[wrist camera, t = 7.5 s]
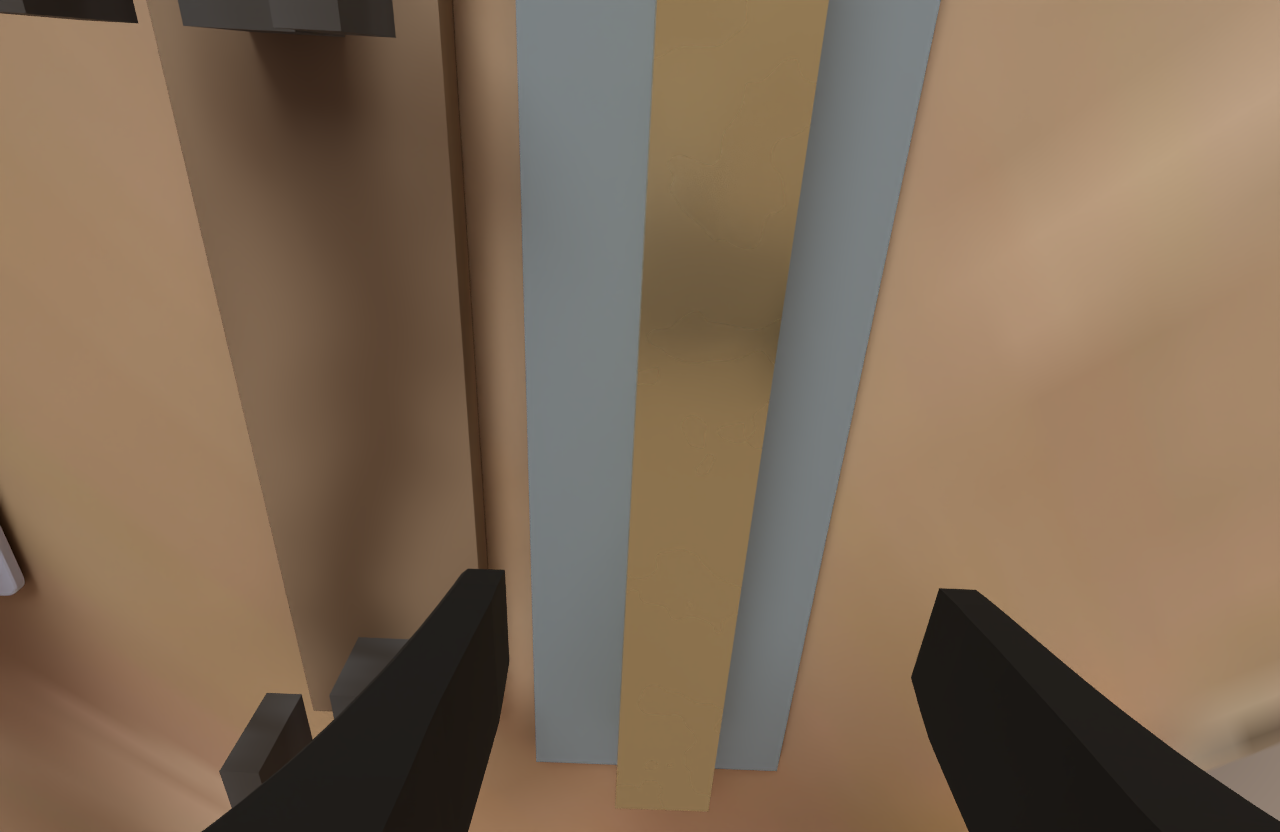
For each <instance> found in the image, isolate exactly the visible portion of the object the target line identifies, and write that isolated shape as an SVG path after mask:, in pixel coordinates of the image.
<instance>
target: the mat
mask: <svg viewBox="0 0 1280 832" xmlns="http://www.w3.org/2000/svg"><path fill="white" fill-rule="evenodd" d="M940 1H941V0H829V3H828V10H827V17H826V24H825V30H824V37H823V44H822V50H821V57H820V64H819V71H818V77H817V84H816V91H815V98H814V104H813V111H812V118H811V124H810V131H809V138H808V145H807V151H806V158H805V165H804V171H803V178H802V185H801V192H800V198H799V205H798V212H797V218H796V225H795V232H794V239H793V245H792V252H791V259H790V265H789V272H788V279H787V286H786V292H785V299H784V306H783V312H782V319H781V326H780V333H779V339H778V346H777V353H776V360H775V366H774V373H773V380H772V386H771V393H770V400H769V407H768V413H767V420H766V427H765V433H764V440H763V447H762V454H761V460H760V467H759V474H758V480H757V487H756V494H755V501H754V507H753V514H752V521H751V527H750V534H749V541H748V548H747V554H746V561H745V568H744V574H743V581H742V588H741V595H740V601H739V608H738V615H737V622H736V628H735V635H734V642H733V648H732V655H731V662H730V669H729V675H728V682H727V689H726V695H725V702H724V709H723V716H722V722H721V729H720V736H719V742H718V749H717V756H716V763H715V769H739V770H764V771H777V767H778V762H779V758H780V753H781V748H782V744H783V739H784V734H785V729H786V725H787V720H788V715H789V711H790V706H791V701H792V697H793V692H794V687H795V682H796V678H797V673H798V668H799V664H800V659H801V654H802V650H803V645H804V640H805V635H806V631H807V626H808V621H809V617H810V612H811V607H812V603H813V598H814V593H815V588H816V584H817V579H818V574H819V570H820V565H821V560H822V556H823V551H824V546H825V541H826V537H827V532H828V527H829V523H830V518H831V513H832V509H833V504H834V499H835V494H836V490H837V485H838V480H839V476H840V471H841V466H842V462H843V457H844V452H845V447H846V443H847V438H848V433H849V429H850V424H851V419H852V415H853V410H854V405H855V400H856V396H857V391H858V386H859V382H860V377H861V372H862V367H863V363H864V358H865V353H866V349H867V344H868V339H869V335H870V330H871V325H872V320H873V316H874V311H875V306H876V302H877V297H878V292H879V288H880V283H881V278H882V273H883V269H884V264H885V259H886V255H887V250H888V245H889V241H890V236H891V231H892V226H893V222H894V217H895V212H896V208H897V203H898V198H899V194H900V189H901V184H902V179H903V175H904V170H905V165H906V161H907V156H908V151H909V147H910V142H911V137H912V132H913V128H914V123H915V118H916V114H917V109H918V104H919V100H920V95H921V90H922V85H923V81H924V76H925V71H926V67H927V62H928V57H929V53H930V48H931V43H932V38H933V34H934V29H935V24H936V20H937V15H938V10H939V5H940ZM654 20H655V0H516V27H517V64H518V101H519V138H520V175H521V212H522V249H523V286H524V323H525V360H526V397H527V434H528V471H529V508H530V545H531V582H532V619H533V656H534V693H535V730H536V762H561V763H587V764H612V765H617V751H618V726H619V707H620V687H621V668H622V648H623V628H624V609H625V589H626V569H627V550H628V530H629V511H630V491H631V471H632V452H633V432H634V413H635V393H636V373H637V354H638V334H639V314H640V295H641V275H642V256H643V236H644V216H645V197H646V177H647V157H648V138H649V118H650V99H651V79H652V59H653V40H654Z"/></svg>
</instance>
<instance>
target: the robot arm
mask: <svg viewBox="0 0 1280 832" xmlns="http://www.w3.org/2000/svg"><path fill="white" fill-rule="evenodd" d="M24 584H25V581H24V577H23V574H22V572H21V570H20V568H19V566H18V563H17V561H16V559H15V557H14V555H13V552H12V550H11V548H10V546H9V543H8V541H7V539H6V537H5V535H4V532H3V530H2V528H1V526H0V595H2V596H8V595H13V594H14V593H16V592H17V591H18V590H20V589H21V588H22V587H23V586H24ZM508 666H509V646H508V626H507V605H506V585H505V570H490V569H467V570H465V571H464V572H463V573H462V574H461V575H460V576H459V578H458V579H457V580H456V582H455V583H454V584H453V586H452V587H451V588H450V590H449V591H448V592H447V593H446V595H445V596H444V597H443V599H442V600H441V601H440V603H439V604H438V605H437V606H436V608H435V609H434V610H433V611H432V613H431V614H430V615H429V616H428V618H427V619H426V620H425V621H424V622H423V624H422V625H421V626H420V627H419V629H418V630H417V631H416V632H415V633H414V634H413V636H412V637H411V638H410V639H409V640H408V641H407V642H406V644H405V645H404V646H403V647H402V648H401V649H400V651H399V652H398V653H397V654H396V655H395V656H394V657H393V659H392V660H391V661H390V662H389V663H388V664H387V665H386V666H385V668H384V669H383V670H382V671H381V672H380V673H379V674H378V675H377V676H376V677H375V678H374V679H373V680H372V681H371V682H370V683H369V684H368V685H367V687H366V688H365V689H364V690H363V691H362V692H361V693H360V694H359V695H358V696H357V697H356V698H355V699H354V700H353V701H352V702H351V703H350V704H349V705H348V706H347V707H346V708H345V709H344V710H343V711H342V712H341V713H340V714H339V715H338V716H337V717H336V718H335V719H334V720H333V721H332V722H331V723H330V724H329V725H328V726H327V727H326V728H325V729H324V730H323V731H322V732H320V733H319V734H318V735H317V736H316V737H315V738H314V739H313V740H312V741H311V742H310V743H309V744H307V745H306V746H305V747H304V748H303V749H302V750H301V751H300V752H299V753H297V754H296V755H295V756H294V757H293V758H292V759H291V760H290V761H288V762H287V763H286V764H285V765H284V766H283V767H282V768H280V769H279V770H278V771H277V772H276V773H274V774H273V775H272V776H271V777H270V778H268V779H267V780H266V781H265V782H264V783H262V784H261V785H260V786H259V787H258V788H256V789H255V790H254V791H253V792H251V793H250V794H249V795H248V796H247V797H245V798H244V799H243V800H242V801H241V802H239V803H238V804H237V805H236V806H234V807H233V808H232V809H231V810H229V811H228V812H227V813H225V814H224V815H223V816H222V817H220V818H219V819H218V820H216V821H215V822H214V823H213V824H211V825H210V826H209V827H207V828H206V829H205V830H203V831H202V832H468V830H469V826H470V823H471V819H472V816H473V812H474V809H475V805H476V802H477V798H478V795H479V791H480V788H481V784H482V781H483V777H484V774H485V770H486V767H487V763H488V760H489V756H490V753H491V749H492V745H493V742H494V738H495V735H496V731H497V727H498V724H499V719H500V714H501V708H502V702H503V697H504V691H505V685H506V678H507V672H508ZM911 679H912V683H913V686H914V690H915V693H916V697H917V701H918V704H919V708H920V712H921V715H922V718H923V721H924V724H925V728H926V731H927V734H928V737H929V740H930V742H931V745H932V747H933V750H934V752H935V755H936V757H937V759H938V762H939V764H940V766H941V769H942V771H943V773H944V776H945V778H946V780H947V783H948V785H949V787H950V790H951V792H952V794H953V796H954V799H955V801H956V803H957V806H958V808H959V810H960V812H961V815H962V817H963V819H964V822H965V824H966V826H967V828H968V831H969V832H1280V821H1278V820H1277V819H1275V818H1274V817H1272V816H1270V815H1269V814H1267V813H1266V812H1264V811H1263V810H1261V809H1260V808H1258V807H1256V806H1255V805H1253V804H1252V803H1250V802H1249V801H1247V800H1246V799H1244V798H1243V797H1242V796H1240V795H1239V794H1237V793H1236V792H1234V791H1233V790H1231V789H1229V788H1228V787H1227V786H1225V785H1224V784H1222V783H1221V782H1219V781H1218V780H1216V779H1215V778H1214V777H1212V776H1211V775H1209V774H1208V773H1206V772H1205V771H1203V770H1202V769H1200V768H1199V767H1197V766H1196V765H1195V764H1193V763H1192V762H1190V761H1189V760H1188V759H1186V758H1185V757H1183V756H1182V755H1181V754H1179V753H1178V752H1176V751H1175V750H1174V749H1172V748H1171V747H1170V746H1168V745H1167V744H1166V743H1164V742H1163V741H1162V740H1160V739H1159V738H1158V737H1156V736H1155V735H1154V734H1152V733H1151V732H1150V731H1148V730H1147V729H1146V728H1144V727H1143V726H1142V725H1141V724H1139V723H1138V722H1137V721H1135V720H1134V719H1133V718H1131V717H1130V716H1129V715H1127V714H1126V713H1125V712H1124V711H1122V710H1121V709H1120V708H1118V707H1117V706H1116V705H1115V704H1113V703H1112V702H1111V701H1110V700H1108V699H1107V698H1106V697H1105V696H1103V695H1102V694H1101V693H1100V692H1098V691H1097V690H1096V689H1095V688H1093V687H1092V686H1091V685H1090V684H1089V683H1087V682H1086V681H1085V680H1084V679H1082V678H1081V677H1080V676H1079V675H1078V674H1076V673H1075V672H1074V671H1073V670H1072V669H1070V668H1069V667H1068V666H1067V665H1066V664H1064V663H1063V662H1062V661H1061V660H1060V659H1058V658H1057V657H1056V656H1055V655H1054V654H1052V653H1051V652H1050V651H1049V650H1048V649H1047V648H1045V647H1044V646H1043V645H1042V644H1041V643H1039V642H1038V641H1037V640H1036V639H1035V638H1034V637H1032V636H1031V635H1030V634H1029V633H1028V632H1026V631H1025V630H1024V629H1023V628H1022V627H1021V626H1019V625H1018V624H1017V623H1016V622H1015V621H1014V620H1012V619H1011V618H1010V617H1009V616H1008V615H1006V614H1005V613H1004V612H1003V611H1002V610H1000V609H999V608H998V607H997V606H996V605H994V604H993V603H992V602H991V601H989V600H988V599H987V598H986V597H984V596H983V595H982V594H980V593H979V592H978V591H977V590H965V589H942V588H939V591H938V594H937V597H936V601H935V604H934V607H933V610H932V613H931V616H930V619H929V623H928V626H927V629H926V632H925V635H924V638H923V642H922V645H921V648H920V651H919V654H918V657H917V661H916V664H915V667H914V670H913V673H912V676H911Z"/></svg>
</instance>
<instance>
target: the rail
mask: <svg viewBox="0 0 1280 832" xmlns="http://www.w3.org/2000/svg"><path fill="white" fill-rule="evenodd" d="M828 3H829V0H655V20H654V40H653V59H652V79H651V99H650V118H649V138H648V157H647V177H646V197H645V216H644V236H643V256H642V275H641V295H640V314H639V334H638V354H637V373H636V393H635V413H634V432H633V452H632V471H631V491H630V511H629V530H628V550H627V569H626V589H625V609H624V628H623V648H622V668H621V687H620V707H619V726H618V751H617V775H616V800H615V808H624V809H651V810H678V811H704V812H708V810H709V803H710V796H711V789H712V783H713V776H714V769H715V763H716V756H717V749H718V742H719V736H720V729H721V722H722V716H723V709H724V702H725V695H726V689H727V682H728V675H729V669H730V662H731V655H732V648H733V642H734V635H735V628H736V622H737V615H738V608H739V601H740V595H741V588H742V581H743V574H744V568H745V561H746V554H747V548H748V541H749V534H750V527H751V521H752V514H753V507H754V501H755V494H756V487H757V480H758V474H759V467H760V460H761V454H762V447H763V440H764V433H765V427H766V420H767V413H768V407H769V400H770V393H771V386H772V380H773V373H774V366H775V360H776V353H777V346H778V339H779V333H780V326H781V319H782V312H783V306H784V299H785V292H786V286H787V279H788V272H789V265H790V259H791V252H792V245H793V239H794V232H795V225H796V218H797V212H798V205H799V198H800V192H801V185H802V178H803V171H804V165H805V158H806V151H807V145H808V138H809V131H810V124H811V118H812V111H813V104H814V98H815V91H816V84H817V77H818V71H819V64H820V57H821V50H822V44H823V37H824V30H825V24H826V17H827V10H828Z"/></svg>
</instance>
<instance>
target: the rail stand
mask: <svg viewBox="0 0 1280 832" xmlns="http://www.w3.org/2000/svg"><path fill="white" fill-rule="evenodd" d="M146 1H147V5H148V9H149V13H150V17H151V22H152V26H153V30H154V34H155V39H156V43H157V47H158V51H159V56H160V60H161V64H162V68H163V73H164V77H165V81H166V85H167V90H168V94H169V98H170V102H171V107H172V111H173V115H174V119H175V124H176V128H177V132H178V136H179V141H180V145H181V149H182V153H183V158H184V162H185V166H186V170H187V175H188V179H189V183H190V187H191V192H192V196H193V200H194V204H195V209H196V213H197V217H198V221H199V226H200V230H201V234H202V238H203V243H204V247H205V251H206V255H207V260H208V264H209V268H210V272H211V277H212V281H213V285H214V289H215V294H216V298H217V302H218V306H219V311H220V315H221V319H222V323H223V328H224V332H225V336H226V340H227V345H228V349H229V353H230V357H231V362H232V366H233V370H234V374H235V379H236V383H237V387H238V391H239V395H240V400H241V404H242V408H243V412H244V417H245V421H246V425H247V429H248V434H249V438H250V442H251V446H252V451H253V455H254V459H255V463H256V468H257V472H258V476H259V480H260V485H261V489H262V493H263V497H264V502H265V506H266V510H267V514H268V519H269V523H270V527H271V531H272V536H273V540H274V544H275V548H276V553H277V557H278V561H279V565H280V570H281V574H282V578H283V582H284V587H285V591H286V595H287V599H288V604H289V608H290V612H291V616H292V621H293V625H294V629H295V633H296V638H297V642H298V646H299V650H300V655H301V659H302V663H303V667H304V672H305V676H306V680H307V684H308V689H309V693H310V697H311V701H312V706H313V710H314V711H333V715H334V719H335V718H336V717H337V716H338V715H339V714H340V713H341V712H342V711H343V710H344V709H345V708H346V707H347V706H348V705H349V704H350V703H351V702H352V701H353V700H354V699H355V698H356V697H357V696H358V695H359V694H360V693H361V692H362V691H363V690H364V689H365V688H366V687H367V685H368V684H369V683H370V682H371V681H372V680H373V679H374V678H375V677H376V676H377V675H378V674H379V673H380V672H381V671H382V670H383V669H384V668H385V666H386V665H387V664H388V663H389V662H390V661H391V660H392V659H393V657H394V656H395V655H396V654H397V653H398V652H399V651H400V649H401V648H402V647H403V646H404V645H405V644H406V642H407V641H408V640H409V639H410V638H411V637H412V636H413V634H414V633H415V632H416V631H417V630H418V629H419V627H420V626H421V625H422V624H423V622H424V621H425V620H426V619H427V618H428V616H429V615H430V614H431V613H432V611H433V610H434V609H435V608H436V606H437V605H438V604H439V603H440V601H441V600H442V599H443V597H444V596H445V595H446V593H447V592H448V591H449V590H450V588H451V587H452V586H453V584H454V583H455V582H456V580H457V579H458V578H459V576H460V575H461V574H462V573H463V572H464V571H465V570H467V569H488V562H487V546H486V530H485V514H484V498H483V482H482V466H481V450H480V435H479V419H478V403H477V387H476V371H475V355H474V339H473V323H472V307H471V292H470V276H469V260H468V244H467V228H466V212H465V196H464V180H463V164H462V149H461V133H460V117H459V101H458V85H457V69H456V53H455V37H454V21H453V6H452V0H146ZM0 13H4V14H16V15H28V16H40V17H52V18H63V19H75V20H90V21H107V22H125V23H138V20H137V16H136V12H135V8H134V4H133V0H0ZM311 741H312V736H311V731H310V727H309V723H308V719H307V715H306V711H305V707H304V703H303V699H302V694H280V693H267V694H266V695H265V697H264V699H263V700H262V702H261V703H260V705H259V707H258V708H257V710H256V712H255V713H254V715H253V717H252V718H251V720H250V722H249V723H248V725H247V727H246V728H245V730H244V732H243V733H242V735H241V737H240V738H239V740H238V741H237V743H236V745H235V746H234V748H233V750H232V751H231V753H230V755H229V756H228V758H227V760H226V761H225V763H224V765H223V766H222V768H221V770H220V771H219V772H220V775H221V778H222V781H223V784H224V786H225V789H226V792H227V795H228V798H229V801H230V804H231V807H232V808H233V807H234V806H236V805H237V804H238V803H239V802H241V801H242V800H243V799H244V798H245V797H247V796H248V795H249V794H250V793H251V792H253V791H254V790H255V789H256V788H258V787H259V786H260V785H261V784H262V783H264V782H265V781H266V780H267V779H268V778H270V777H271V776H272V775H273V774H274V773H276V772H277V771H278V770H279V769H280V768H282V767H283V766H284V765H285V764H286V763H287V762H288V761H290V760H291V759H292V758H293V757H294V756H295V755H296V754H297V753H299V752H300V751H301V750H302V749H303V748H304V747H305V746H306V745H307V744H309V743H310V742H311Z"/></svg>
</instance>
